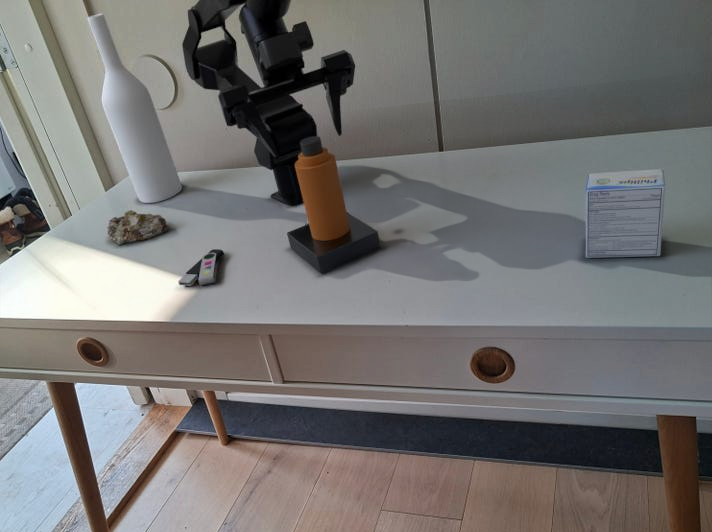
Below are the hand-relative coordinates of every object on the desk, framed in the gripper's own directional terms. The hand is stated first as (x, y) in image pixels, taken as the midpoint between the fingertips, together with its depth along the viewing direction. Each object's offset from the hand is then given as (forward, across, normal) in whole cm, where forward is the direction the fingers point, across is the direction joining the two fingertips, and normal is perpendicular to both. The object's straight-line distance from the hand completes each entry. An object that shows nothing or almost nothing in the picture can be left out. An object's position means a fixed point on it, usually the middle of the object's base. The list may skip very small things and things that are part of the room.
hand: (308, 145), depth 95 cm
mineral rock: (-3, -28, +21) cm, 35 cm away
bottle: (-13, -24, +33) cm, 43 cm away
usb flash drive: (+11, -18, +5) cm, 22 cm away
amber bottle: (+12, -1, 0) cm, 12 cm away
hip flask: (+14, -1, +2) cm, 14 cm away
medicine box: (+29, +28, -14) cm, 43 cm away
